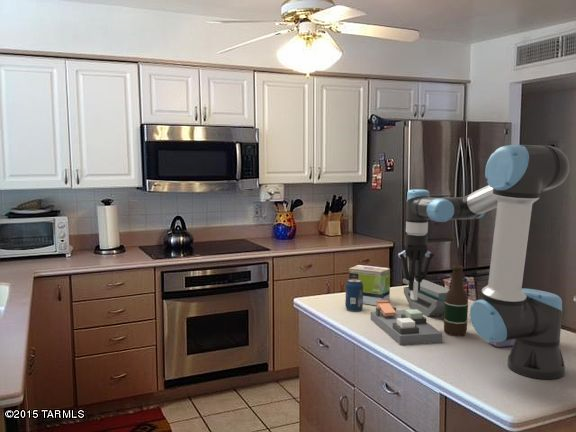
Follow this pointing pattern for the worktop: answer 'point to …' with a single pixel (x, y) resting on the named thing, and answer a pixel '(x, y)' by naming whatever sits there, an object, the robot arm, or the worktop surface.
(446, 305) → the beer bottle
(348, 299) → the soda can
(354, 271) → the tea box
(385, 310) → the rocker switch
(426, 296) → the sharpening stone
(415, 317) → the green button
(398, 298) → the worktop surface
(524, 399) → the worktop surface
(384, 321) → the control console
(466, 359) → the worktop surface
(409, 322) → the white button
